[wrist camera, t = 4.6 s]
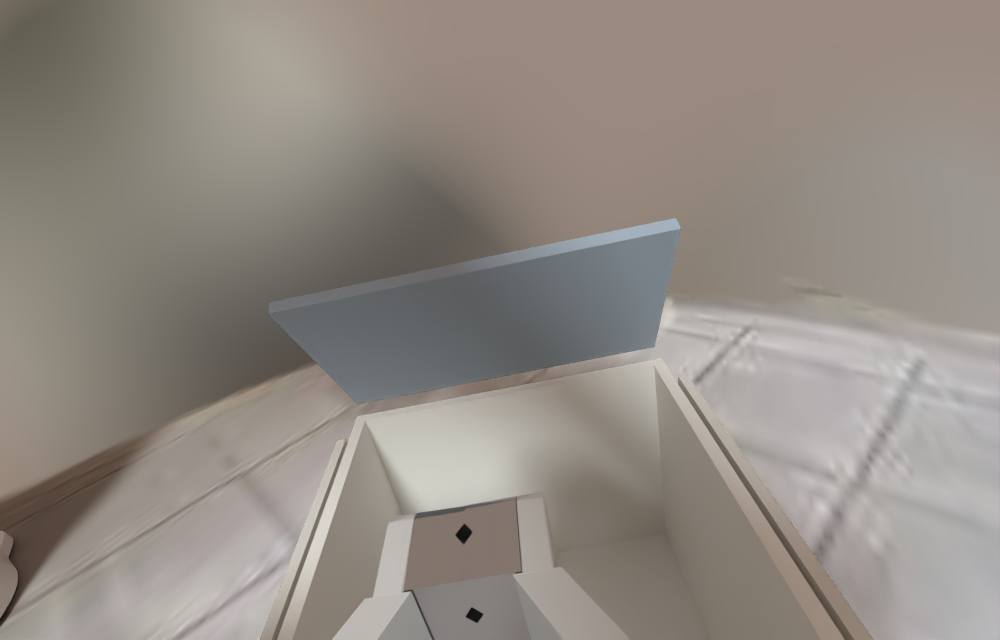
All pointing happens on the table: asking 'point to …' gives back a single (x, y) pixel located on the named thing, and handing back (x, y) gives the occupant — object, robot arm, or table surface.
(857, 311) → the table surface
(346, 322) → the flap
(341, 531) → the shipping box
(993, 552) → the table surface
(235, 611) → the table surface
